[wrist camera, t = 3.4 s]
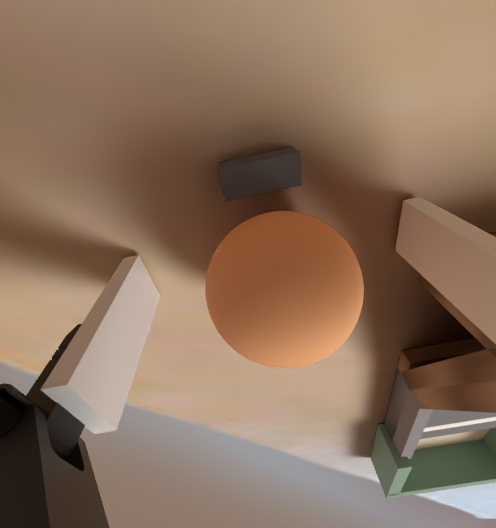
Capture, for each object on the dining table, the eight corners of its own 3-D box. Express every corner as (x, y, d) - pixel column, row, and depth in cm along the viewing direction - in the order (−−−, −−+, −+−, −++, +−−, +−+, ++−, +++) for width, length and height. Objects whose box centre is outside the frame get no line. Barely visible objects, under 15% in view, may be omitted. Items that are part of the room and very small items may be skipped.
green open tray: (377, 424, 24) (397, 468, 22) (519, 401, 24) (559, 444, 21) (370, 458, 29) (386, 498, 26) (488, 439, 29) (517, 478, 26)
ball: (193, 205, 11) (166, 295, 6) (330, 175, 11) (417, 246, 6) (226, 303, 14) (225, 413, 9) (331, 283, 14) (387, 386, 9)
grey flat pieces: (218, 162, 10) (217, 170, 9) (292, 146, 10) (299, 151, 9) (256, 317, 15) (258, 332, 14) (306, 307, 15) (311, 323, 14)
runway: (397, 367, 19) (421, 404, 17) (563, 338, 19) (611, 373, 16) (383, 426, 25) (399, 460, 22) (510, 405, 24) (540, 439, 22)
